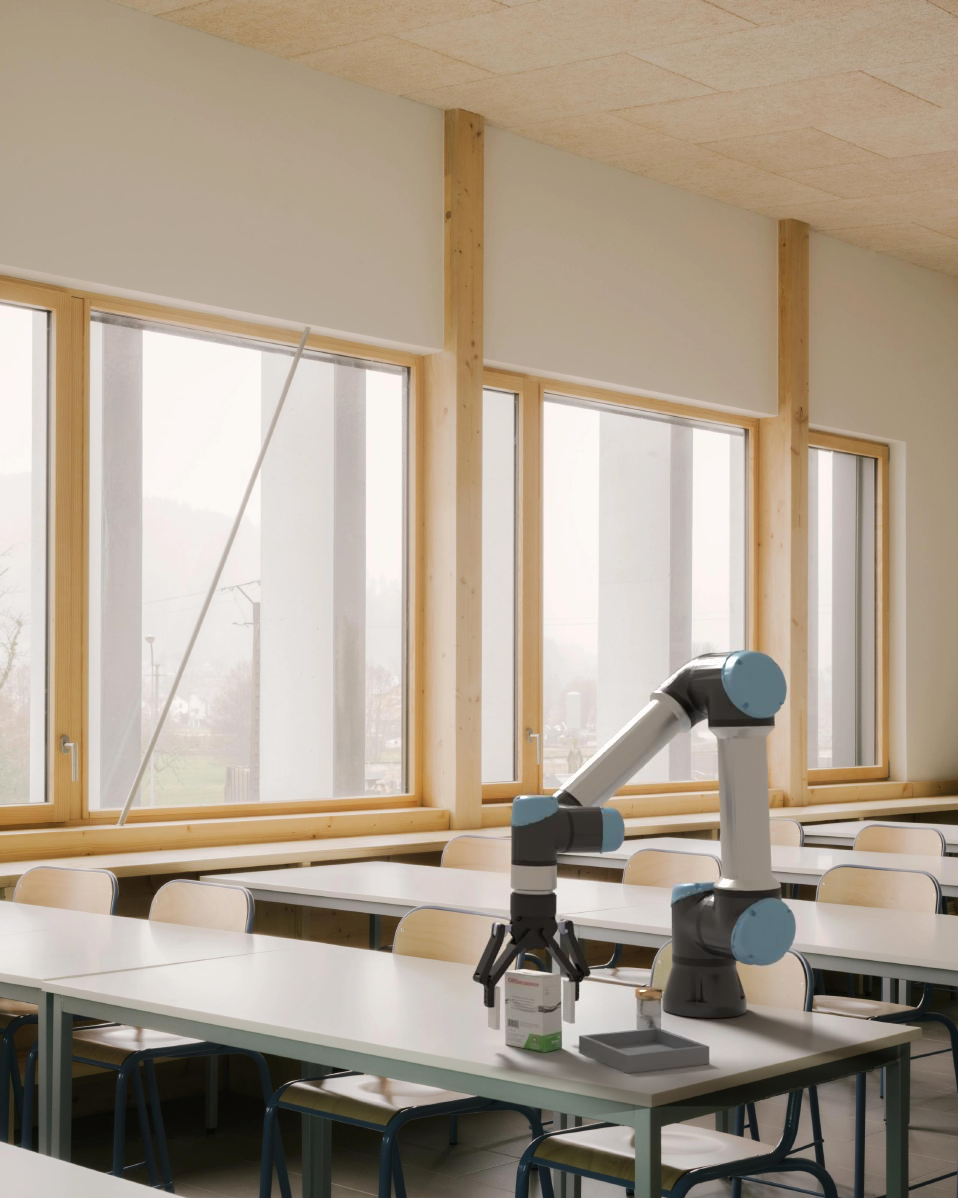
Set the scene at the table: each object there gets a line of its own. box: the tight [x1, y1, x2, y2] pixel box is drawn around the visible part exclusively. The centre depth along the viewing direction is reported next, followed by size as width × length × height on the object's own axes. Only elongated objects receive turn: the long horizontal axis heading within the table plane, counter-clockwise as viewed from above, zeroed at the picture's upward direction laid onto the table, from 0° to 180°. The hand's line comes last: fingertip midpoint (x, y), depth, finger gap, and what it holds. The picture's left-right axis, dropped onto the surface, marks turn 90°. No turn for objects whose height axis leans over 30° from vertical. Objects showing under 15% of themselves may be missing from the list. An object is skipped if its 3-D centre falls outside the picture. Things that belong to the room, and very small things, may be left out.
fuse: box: [634, 986, 663, 1030], centre depth 233 cm, size 4×4×8 cm
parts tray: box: [578, 1028, 710, 1074], centre depth 219 cm, size 15×15×3 cm
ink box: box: [504, 968, 563, 1053], centre depth 227 cm, size 9×5×12 cm, turn 47°
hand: (531, 1025), depth 227 cm, fingers open, 13 cm apart
